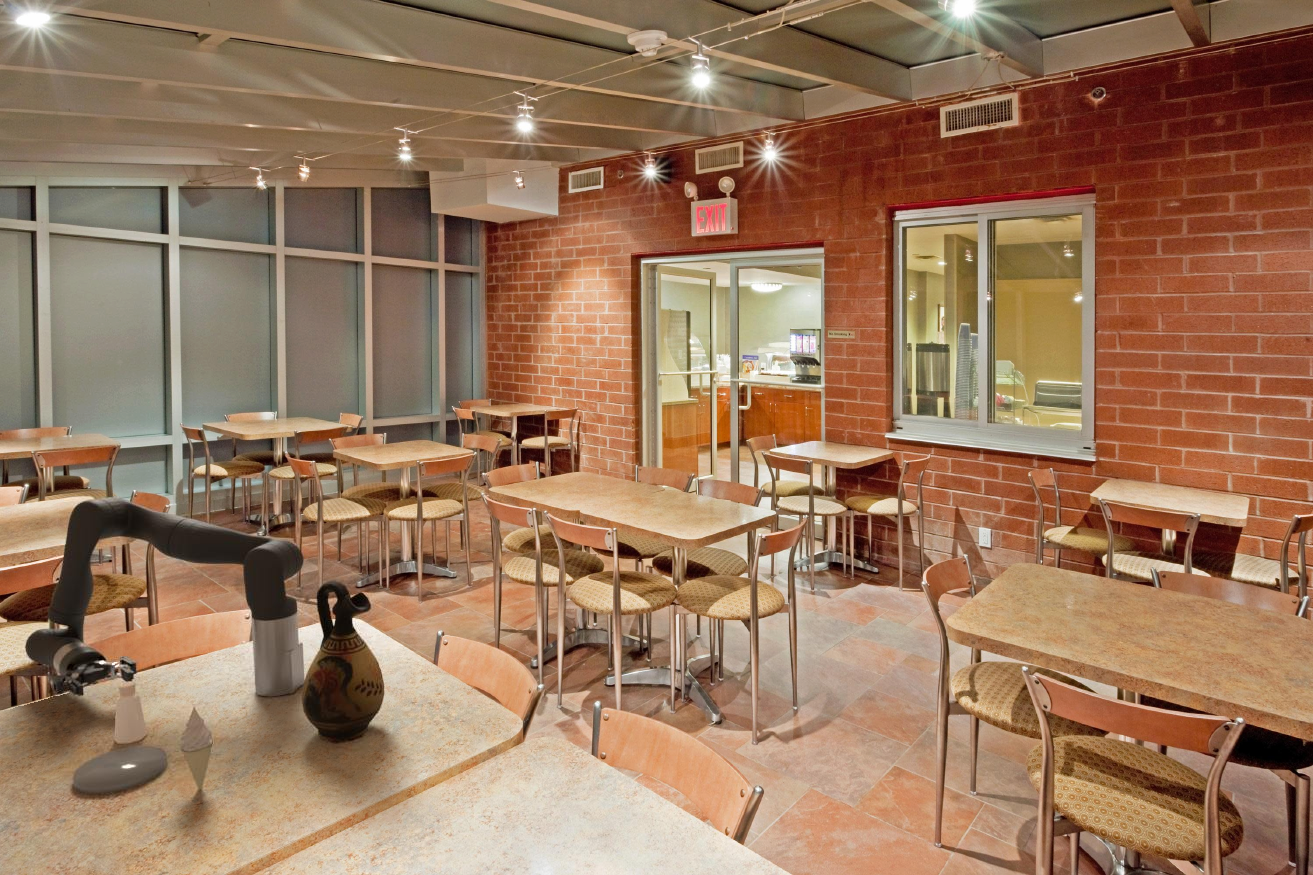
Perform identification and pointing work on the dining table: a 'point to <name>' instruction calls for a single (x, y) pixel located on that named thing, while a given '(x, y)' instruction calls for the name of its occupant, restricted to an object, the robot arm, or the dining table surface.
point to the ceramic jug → (342, 671)
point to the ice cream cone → (197, 747)
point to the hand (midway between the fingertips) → (106, 684)
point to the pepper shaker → (129, 715)
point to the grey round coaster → (120, 769)
